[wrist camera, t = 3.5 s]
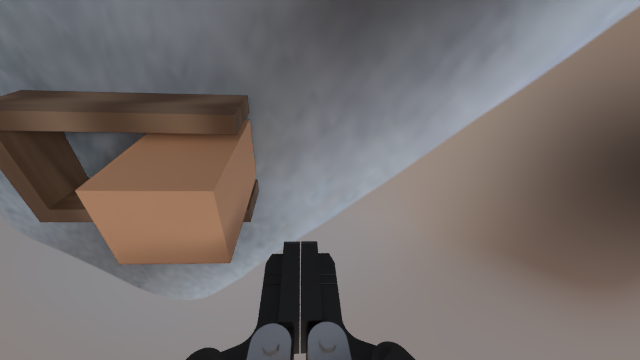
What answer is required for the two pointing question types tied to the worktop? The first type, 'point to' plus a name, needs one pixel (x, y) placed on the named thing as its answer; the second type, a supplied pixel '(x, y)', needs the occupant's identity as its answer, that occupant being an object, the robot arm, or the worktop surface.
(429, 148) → the worktop surface
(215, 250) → the block
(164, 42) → the worktop surface
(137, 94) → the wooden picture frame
